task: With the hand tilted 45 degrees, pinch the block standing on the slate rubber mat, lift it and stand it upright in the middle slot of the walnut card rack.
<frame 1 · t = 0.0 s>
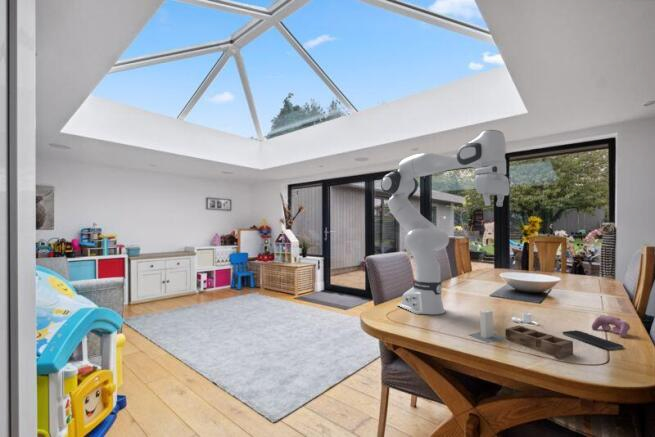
hand: (493, 206, 117), 48 cm above the table, tool pointing down, fingers open, 8 cm apart
rack: (537, 346, 98), on the table
video game controller: (610, 333, 111), on the table
block: (486, 336, 107), resting on mat
teacup and saucer: (520, 321, 126), on the table
mat: (486, 337, 107), on the table
phone: (591, 342, 103), on the table
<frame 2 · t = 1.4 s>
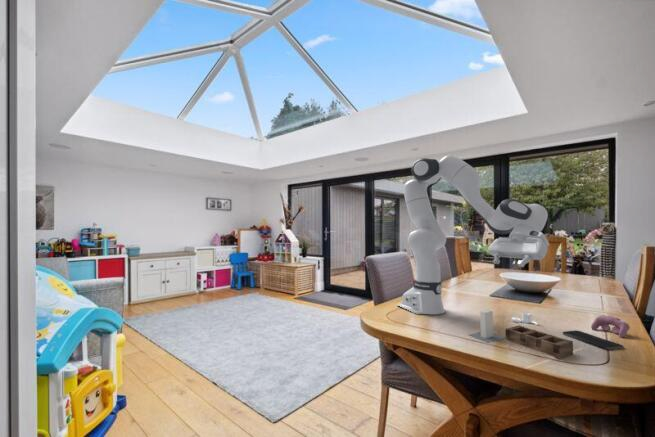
hand: (507, 264, 113), 25 cm above the table, tool tilted 45°, fingers open, 8 cm apart
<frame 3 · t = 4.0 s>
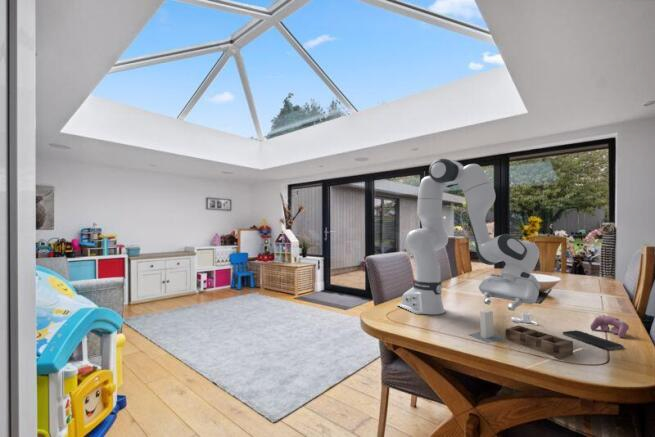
hand: (497, 306, 109), 10 cm above the table, tool tilted 45°, fingers open, 8 cm apart
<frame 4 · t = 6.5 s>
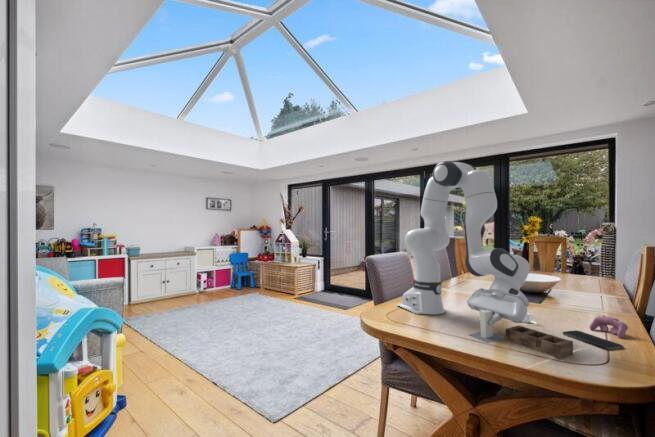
hand: (485, 323, 107), 5 cm above the table, tool tilted 45°, fingers closed on block, 2 cm apart
block: (486, 336, 107), resting on mat, touching gripper
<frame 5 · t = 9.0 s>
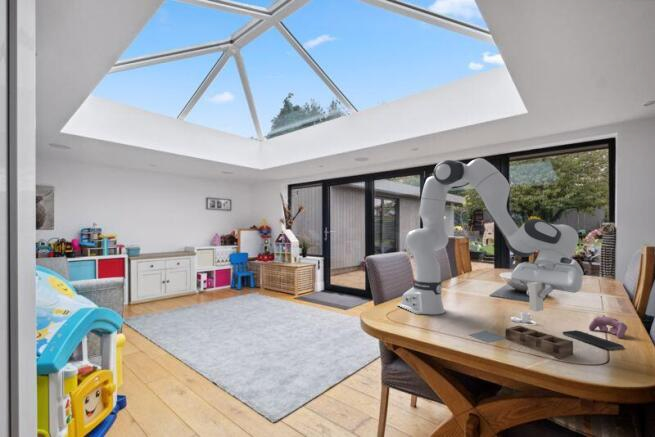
hand: (535, 295, 98), 17 cm above the table, tool tilted 45°, fingers closed on block
block: (536, 310, 98), point 12 cm above the table, touching gripper
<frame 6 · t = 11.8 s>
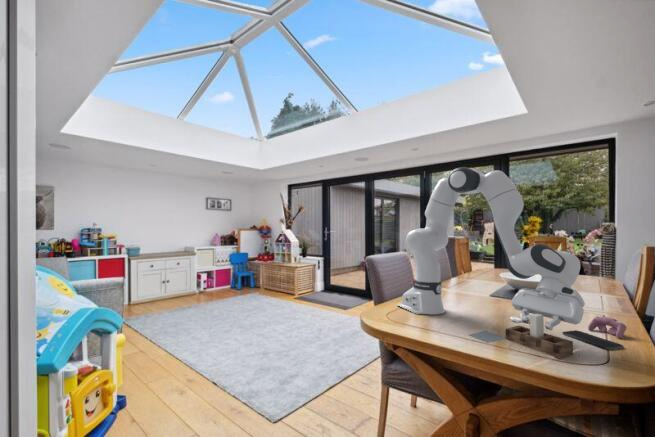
hand: (535, 325, 98), 7 cm above the table, tool tilted 45°, fingers open, 6 cm apart
block: (537, 342, 98), point 1 cm above the table, touching rack
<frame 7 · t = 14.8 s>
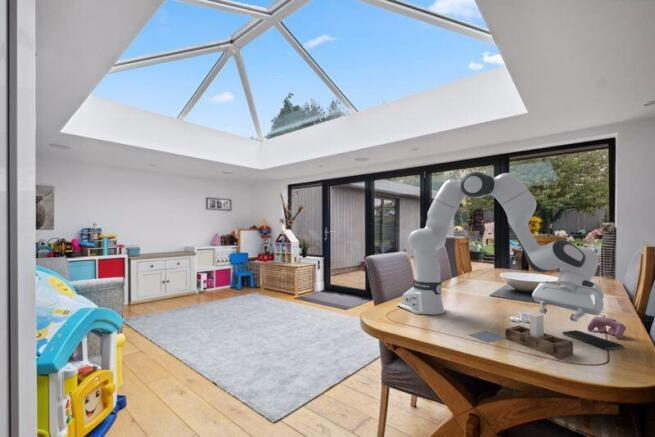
hand: (557, 316, 104), 8 cm above the table, tool tilted 45°, fingers open, 8 cm apart
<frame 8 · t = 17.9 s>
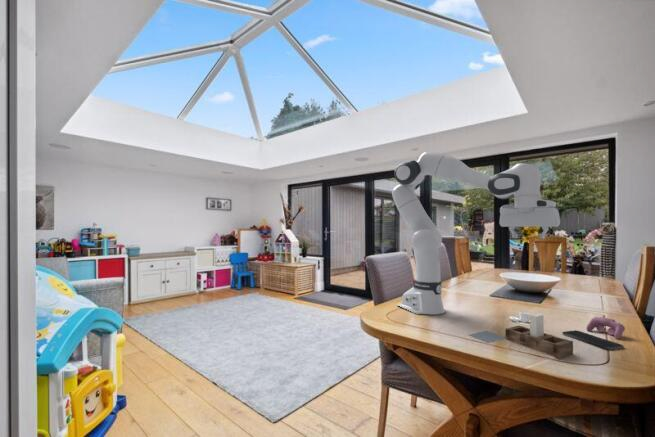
hand: (528, 238, 117), 35 cm above the table, tool pointing down, fingers open, 8 cm apart
at the end: block 0.0 cm off-centre on the rack, point 1.5 cm above the rack's base; block tilted 0°; the gripper is holding nothing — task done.
